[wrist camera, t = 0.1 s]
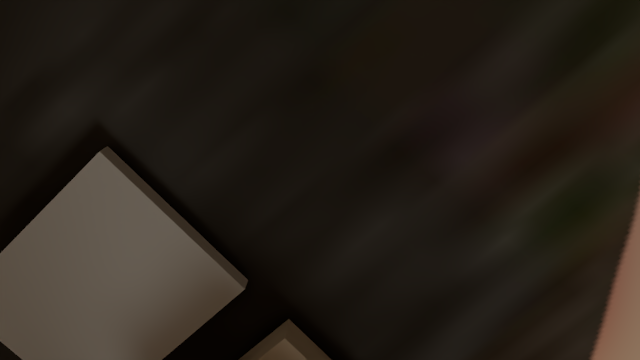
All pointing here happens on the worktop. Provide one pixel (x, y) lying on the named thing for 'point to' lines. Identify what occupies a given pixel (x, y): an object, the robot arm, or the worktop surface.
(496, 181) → the worktop surface
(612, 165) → the worktop surface
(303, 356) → the post stand
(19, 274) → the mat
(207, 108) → the worktop surface
